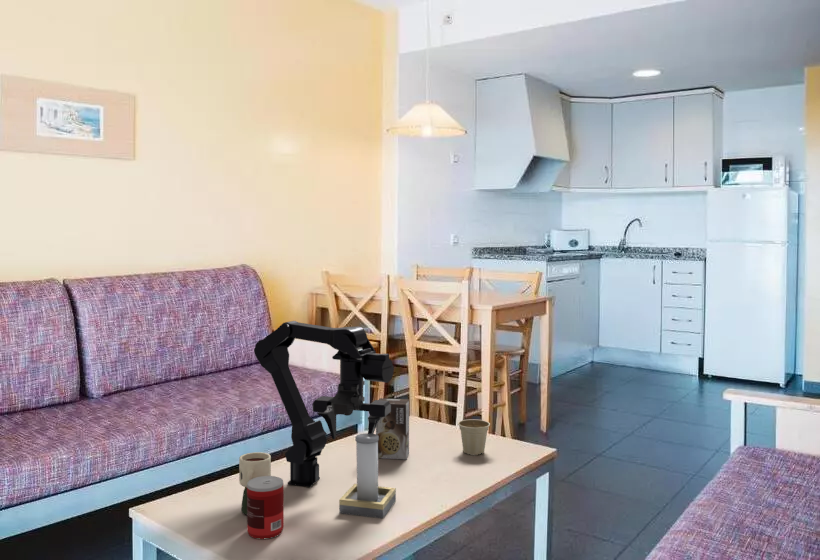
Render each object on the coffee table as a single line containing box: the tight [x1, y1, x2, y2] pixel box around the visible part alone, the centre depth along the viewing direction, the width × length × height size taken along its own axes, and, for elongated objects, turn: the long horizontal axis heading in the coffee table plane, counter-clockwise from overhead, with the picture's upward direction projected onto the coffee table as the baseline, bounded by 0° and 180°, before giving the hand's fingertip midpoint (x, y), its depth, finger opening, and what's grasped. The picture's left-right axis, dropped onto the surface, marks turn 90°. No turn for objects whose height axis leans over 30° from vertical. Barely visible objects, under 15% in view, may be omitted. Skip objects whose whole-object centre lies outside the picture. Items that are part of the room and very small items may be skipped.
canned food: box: [246, 475, 285, 540], centre depth 151 cm, size 8×8×11 cm
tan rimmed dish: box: [338, 483, 397, 519], centre depth 165 cm, size 10×10×3 cm
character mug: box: [238, 451, 272, 515], centre depth 161 cm, size 11×7×13 cm, turn 178°
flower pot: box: [457, 418, 491, 456], centre depth 207 cm, size 9×9×9 cm
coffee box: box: [375, 397, 410, 460], centre depth 203 cm, size 9×6×16 cm
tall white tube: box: [355, 432, 379, 502], centre depth 165 cm, size 5×5×15 cm
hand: (351, 440), depth 174 cm, fingers open, 9 cm apart
